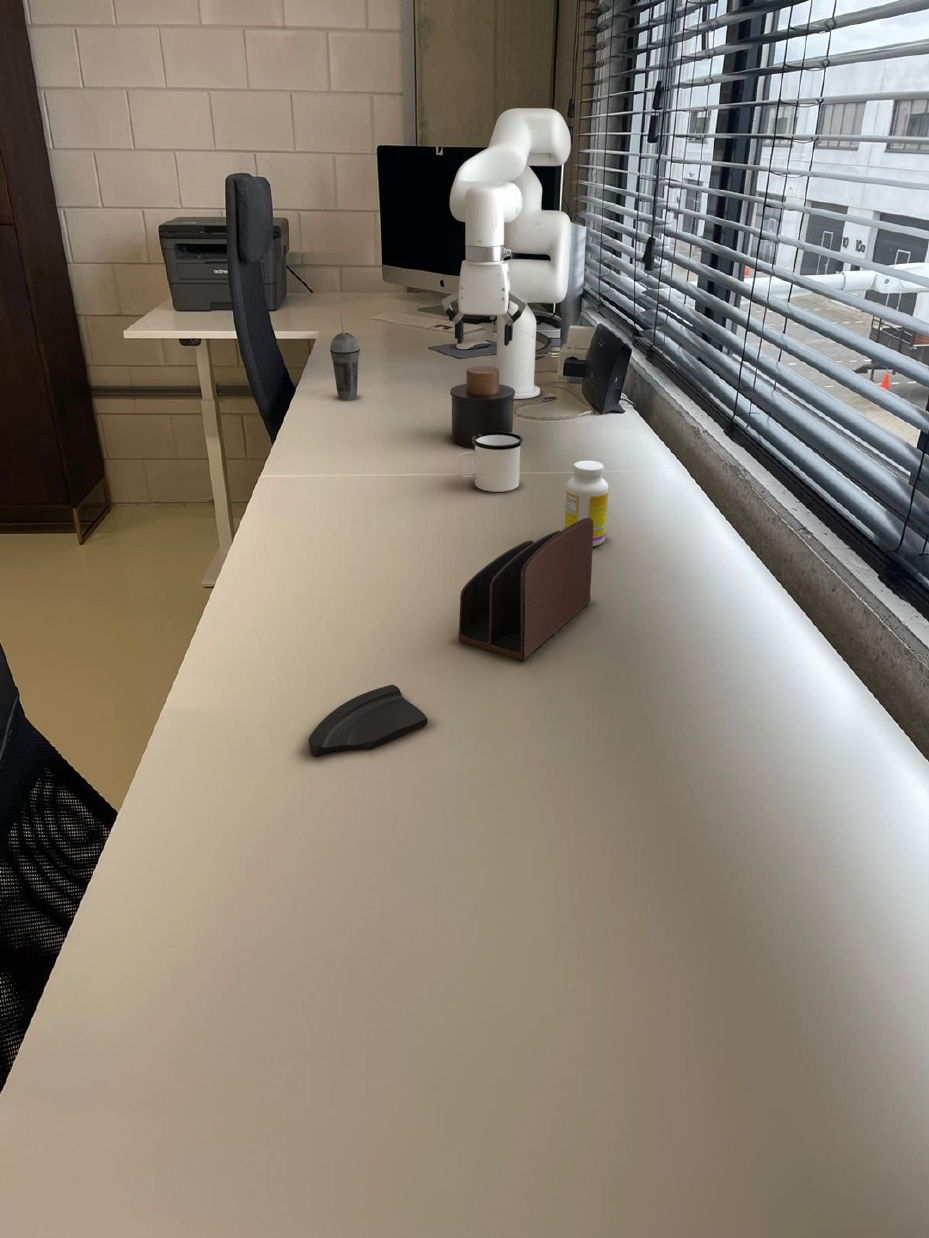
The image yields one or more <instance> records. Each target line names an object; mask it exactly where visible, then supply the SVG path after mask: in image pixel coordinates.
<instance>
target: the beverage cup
mask: <svg viewBox="0 0 929 1238" xmlns="http://www.w3.org/2000/svg"><path fill="white" fill-rule="evenodd" d="M340 321H341V332H340V333H338V334H336V335H335V336H334V337H333V339H332V341H331V343H330V349H329V352H330V357H331V360H332V365H333V372H334V380H335V386H336V393H337V396H338V397H337V398H338V400H341V401H354V400H356V399H357V398H358V396H357V395H358V382H359V381H358V379H359V377H358V376H359V359H360V352H361V349H360V348H361V347H360V344H359V341H358V339H357V338H356V337H355V336H354V335H353V334H351V333H349V332H345V323H344V314H340Z"/></svg>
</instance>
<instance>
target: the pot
mask: <svg viewBox="0 0 929 1238" xmlns="http://www.w3.org/2000/svg"><path fill="white" fill-rule="evenodd" d="M449 391H450V392H449V393H450V394H449V395H450V396H451V442H452V443H453V444H454V445H456V446H459V447H462V448H466V449H473V450H475V445H474V444H473V443H472V438H473V437H474V436H475V435H477V434H479V433H483V432H490V431H504V432H511V433H514V432H513V431H514V430H513V429H514V400H515V399H514V395H515V390H514V389H513V388H511V387H509V386H506V385H501V384H499V392H498V393H495V394H491V395H475V394H471V393H468V392H467V391H466V383H464V384H459V385H455V386H454V387H452V388H450V390H449Z"/></svg>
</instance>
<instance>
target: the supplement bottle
mask: <svg viewBox="0 0 929 1238" xmlns="http://www.w3.org/2000/svg"><path fill="white" fill-rule="evenodd" d="M604 467H605V466H604V464H603V463H602V462H599V461H596V460H579V461H576V462H575V463H574V464H573V474H574V476H573V477H572V478H570V479H569V480H568V482H567V484H566V489H565V509H564V510H565V513H564V529H565V528H567V527H568V526H570V525H572V524H573V523H575V522H577V521H579V520H582V519H584V518H588V517H589V518H591V519H592V520H593V524H594V529H593V547H597V546H600V545H601V544H603V543H604V541H605V539H606V533H607V532H606V531H607V515H608V503H609V502H608V501H609V484H608V482H607V480H605V479H604V478H603V477H602V476H603V474H604V469H605V468H604Z"/></svg>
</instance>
